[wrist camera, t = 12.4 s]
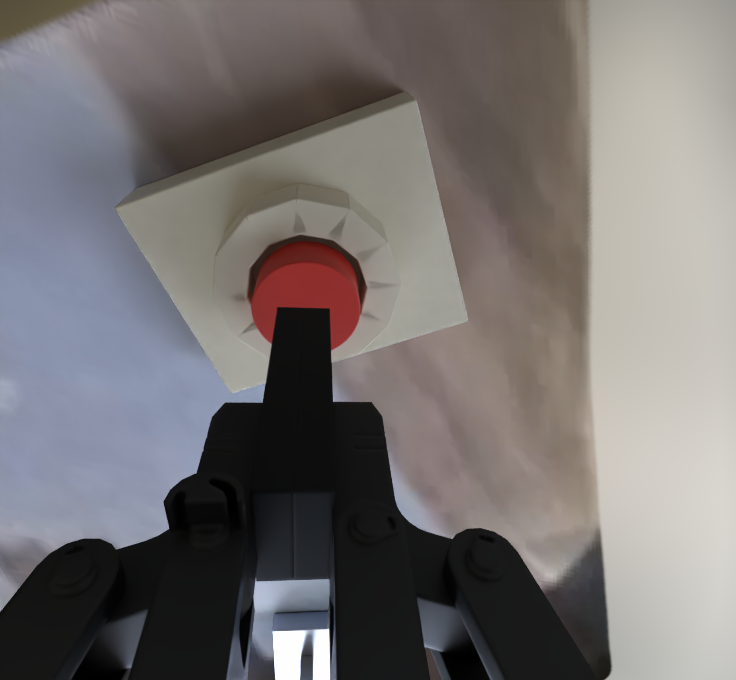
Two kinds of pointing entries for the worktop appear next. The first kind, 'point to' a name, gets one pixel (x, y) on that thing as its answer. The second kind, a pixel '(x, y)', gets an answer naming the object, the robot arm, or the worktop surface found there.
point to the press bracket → (301, 646)
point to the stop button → (307, 288)
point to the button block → (305, 232)
